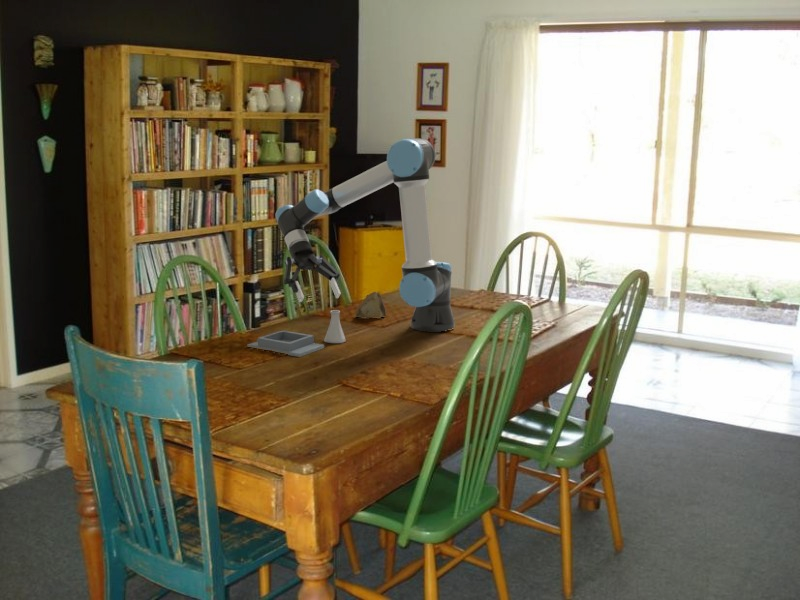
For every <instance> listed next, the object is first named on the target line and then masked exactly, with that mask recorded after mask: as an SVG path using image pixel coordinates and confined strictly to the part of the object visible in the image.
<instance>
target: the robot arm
mask: <svg viewBox="0 0 800 600" xmlns="http://www.w3.org/2000/svg"><path fill="white" fill-rule="evenodd" d="M435 160H436V151H435V148H434V146H433V145H432V144H431V142H429V140H427V139H424V138H420V137H415V138H412V137H411V138H403V139H400V140H398V141H395V142H394V143H393V144H392V145H391V146H390V148H389V149H388V151H387V154H386V161H383V162H381V163H379V164H377V165H376V166H373V167H371V168H369V169H367V170H366V171H363V172H362V173H360V174H358V175H356V176H354V177H352V178H350V179H347V180H346V181H343V182H342V183H340V184H338V185H336V186H334V187H332V188H330V189H328V190H326V191H322V190H320V189H317V188H316V189H313V190H312V191H311V192H308V193H307V194H306V195H305V196H304V197H303V198H301V199H300V200H299V201H298V202H297V203H296V204H295V205H292V204H285V205H283V206H280V207H279V208H277V210H276V212H275V220H276V223H277V225H278V228H279V229H280V232H281V233H282V236H283V239H284V242H285V245H286V247H287V249H288V253H289V255H290V256H287V257H286V258H285V261H284V264H285V269H284V270H285V271H284V279H283V284H284V285H288V287H290V288H291V289H292V292H293V293H294V294H296V297H297V299H298V303H302V302H303V300H304V299H305V295H304V293H303V291H302V289H301V288H302V287H301V285H300V283H299V281H298V280H296V279H297V277H298V276H299V273H300V272H301V270H303V271H312V270H313V272H317V273H318V274H319V275H321V276H323V277H324V278H326V279H328V280H329V282H328V283H329V285H330V288H331V290H332V291H333V294H334V296H335V299H339V297H340V296H341V293H342V292H341V290H340V283H339V281H338V279H339V278H340V276H341V273H340V272H339V271H338V270H337V268H335V267H334V266H333V265H332V264H331V263H330V262H329V261H328V260H327V259H326V257H325V256H324V254H320V255H318V256H316V255H315V254H314V250H313V248H312V245H311V243H310V239H309V237H308V235H307V233H306V231H305V228H304V227H305V226H306V225H308V224H309V223H310V222H311V221H312V220H314V219H315V218H317V217H322V216H327V215H332V214H334V213H336V212H338V211H339V210H340V209H342V208H344V207H346V206H347V205H350V204H352V203H355V202H356V201H358V200H360V199H362V198H364V197H366V196H368V195H370V194H372V193H374V192H376V191H378V190H380V189H382V188H385V187H387V186H388V185H392V184H394V185H396V187H398V192H399V202H400V212H401V223H402V235H403V246H404V255H405V262H403V264H401V272H402V273H401V274H402V279H401V280H400V283H399V287H398V289H399V295H400V298H401V299H402V300H403V301H404V302H405V303H406V304H408V306H412V307H413V308H414V307H415V308H414V311H413V313H412V317H411V321H410V328H411V329H413V330H415V331H420V332H425V331H427V333H428V332H429V333H442V332H441V331H445V330H448V329H452V328H454V327H455V328H456V326H455V324H456V322H455V321H456V320H455V318H454V315H453V311H452V307H451V294H452V293H451V289H452V288H451V287H452V274H453V272H452V265H451V263H449V262H444V261H436V260H434V259H433V256H432V255H433V254H432V246H431V233H430V223H429V213H428V211H429V210H428V203H427V201H428V199H427V191H426V185H427V183H428V182H429V181H430V169H431V168H432V167H433V166H434V164H435V162H436V161H435ZM293 264H294V265H295V266H296V269H295V272H294V273H293V275H292V277H291V271H292V265H293ZM455 328H454V329H455ZM445 332H446V331H445Z"/></svg>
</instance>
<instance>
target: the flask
mask: <svg viewBox="0 0 800 600" xmlns="http://www.w3.org/2000/svg"><path fill="white" fill-rule="evenodd" d="M340 313H341V311H340V310H339V309H338V310H337V309H335V310H334V309H333V310H332V309H331V310H330V314H331V315H330V317H331V318H330V322H329V326H328V328H327V332H326V334H325V337H324V339H323V341H324V343H328V344H343V343H346V341H347V339H346V337H345V334H344V331H343V328H342V325H341V321H340Z"/></svg>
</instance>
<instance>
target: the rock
mask: <svg viewBox="0 0 800 600" xmlns="http://www.w3.org/2000/svg"><path fill="white" fill-rule="evenodd" d="M383 316H387V312H386V307H385V305H384V302H383V298H382V295H380V292H379V291H378V292H376V291H373V292H370V293H369V294H367V295H366V296H365V298H364V299H363V300H362V301H361V303H360V304H359V305H358V306H357V310H356V313H355V318H356V317H383Z"/></svg>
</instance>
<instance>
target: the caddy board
mask: <svg viewBox="0 0 800 600" xmlns="http://www.w3.org/2000/svg"><path fill="white" fill-rule="evenodd" d="M246 345H247V346H248V347H255V348H261V349H266V350H272V351H276V352H281V353H286V354H288V355H287V356H292V357H296V358H301V357H304V356H305V355H306V356H307V355H309V354H312V353H314V352H317V351H320V350H323V349H325V344H323V343H322V344H321V343H315V336H314V335H313V334H305V333H301V332H296V331H295V332H294V331H288V330H279V331H275V332H273V333H269V334H267V335H263V336H260V337H259V336H258V337H257V341H254V342H251V343H250V342H249V343H247V344H246ZM286 354H285V355H286Z"/></svg>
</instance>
